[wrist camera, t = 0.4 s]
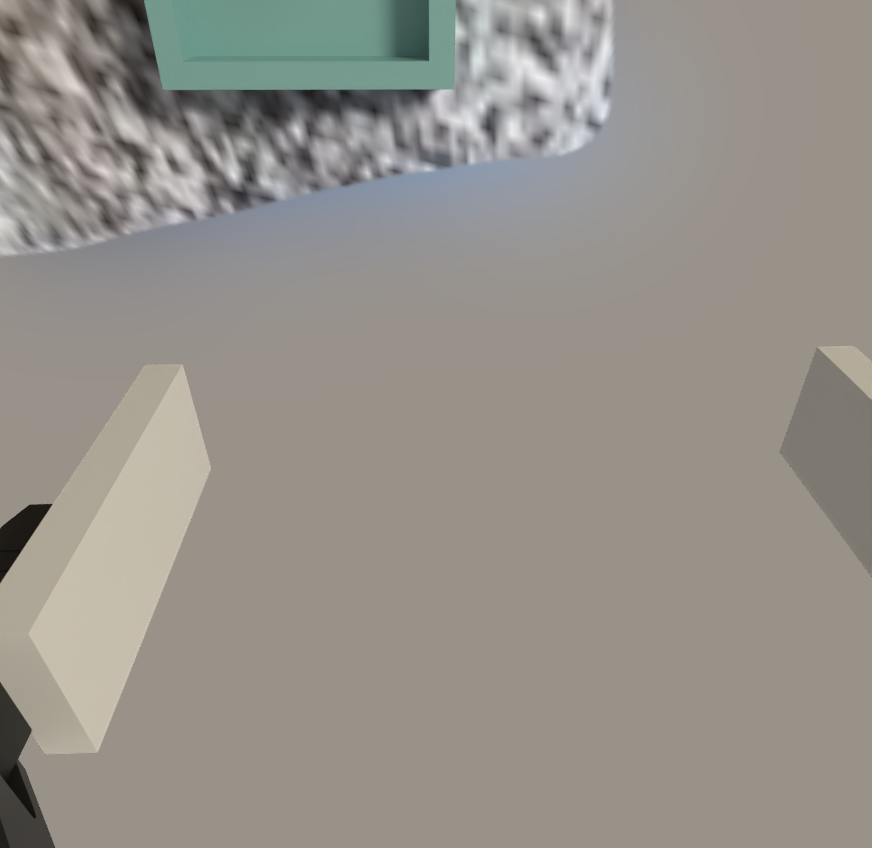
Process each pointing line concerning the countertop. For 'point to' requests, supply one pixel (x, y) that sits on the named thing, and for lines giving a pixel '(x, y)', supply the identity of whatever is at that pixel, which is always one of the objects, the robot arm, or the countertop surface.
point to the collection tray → (303, 44)
